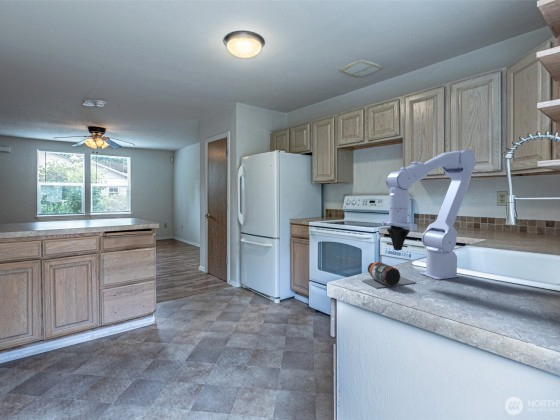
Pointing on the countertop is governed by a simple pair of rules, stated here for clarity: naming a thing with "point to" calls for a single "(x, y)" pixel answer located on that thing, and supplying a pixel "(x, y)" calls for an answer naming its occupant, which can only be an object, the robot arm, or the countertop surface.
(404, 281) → the mat
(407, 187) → the robot arm
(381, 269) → the supplement bottle
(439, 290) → the countertop surface
